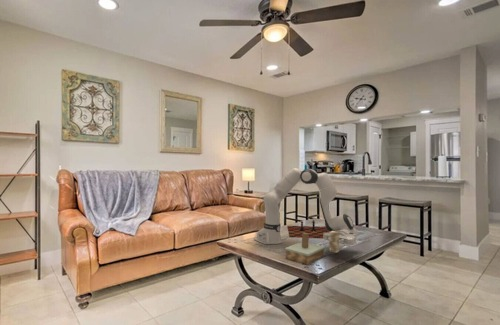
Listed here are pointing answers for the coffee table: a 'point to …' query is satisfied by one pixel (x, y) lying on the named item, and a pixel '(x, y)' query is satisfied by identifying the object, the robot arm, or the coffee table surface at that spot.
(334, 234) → the tan wooden block
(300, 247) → the lid
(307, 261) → the open wooden box
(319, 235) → the chessboard
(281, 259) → the coffee table surface
